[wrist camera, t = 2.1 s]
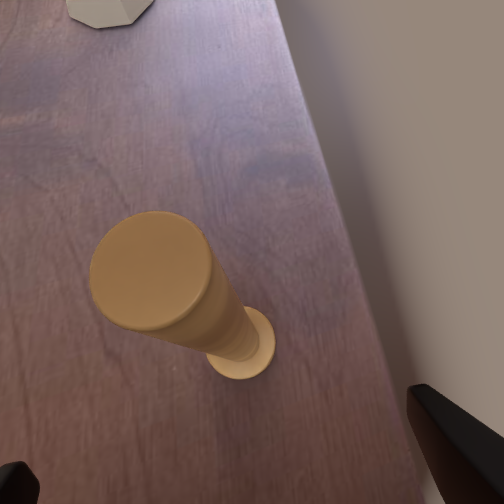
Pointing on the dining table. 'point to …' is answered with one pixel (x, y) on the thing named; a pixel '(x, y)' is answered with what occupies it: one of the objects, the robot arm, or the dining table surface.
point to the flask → (106, 11)
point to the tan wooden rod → (178, 293)
